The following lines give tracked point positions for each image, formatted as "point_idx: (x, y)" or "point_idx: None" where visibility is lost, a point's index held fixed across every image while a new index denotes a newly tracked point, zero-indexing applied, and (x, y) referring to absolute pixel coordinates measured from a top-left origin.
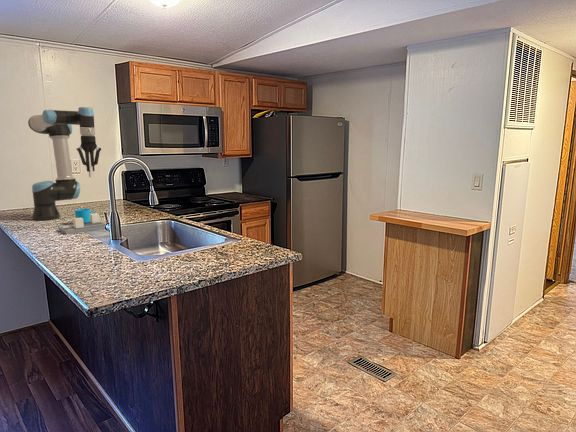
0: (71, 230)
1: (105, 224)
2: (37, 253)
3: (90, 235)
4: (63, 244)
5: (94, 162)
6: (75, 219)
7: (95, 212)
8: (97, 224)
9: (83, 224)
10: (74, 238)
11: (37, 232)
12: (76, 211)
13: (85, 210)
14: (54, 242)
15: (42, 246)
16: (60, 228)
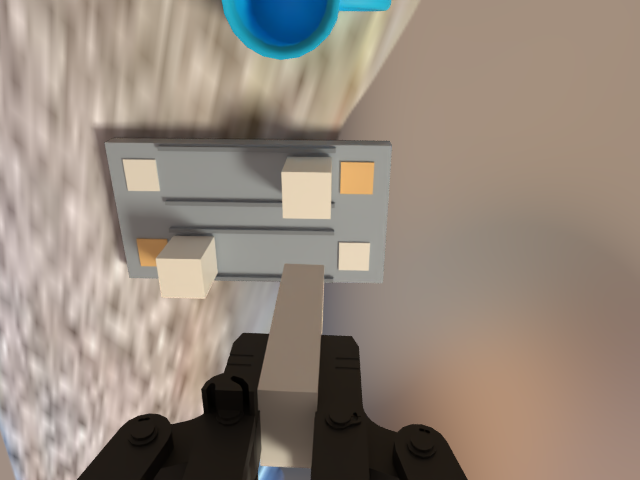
0: (155, 277)
1: (328, 282)
2: (22, 461)
3: (224, 351)
4: (105, 414)
5: (402, 476)
6: (163, 296)
7: (380, 8)
8: (303, 233)
9: (212, 280)
10: (156, 357)
11: (7, 107)
12: (226, 15)
13: (288, 51)
14: (78, 367)
15: (35, 394)
16: (113, 188)
